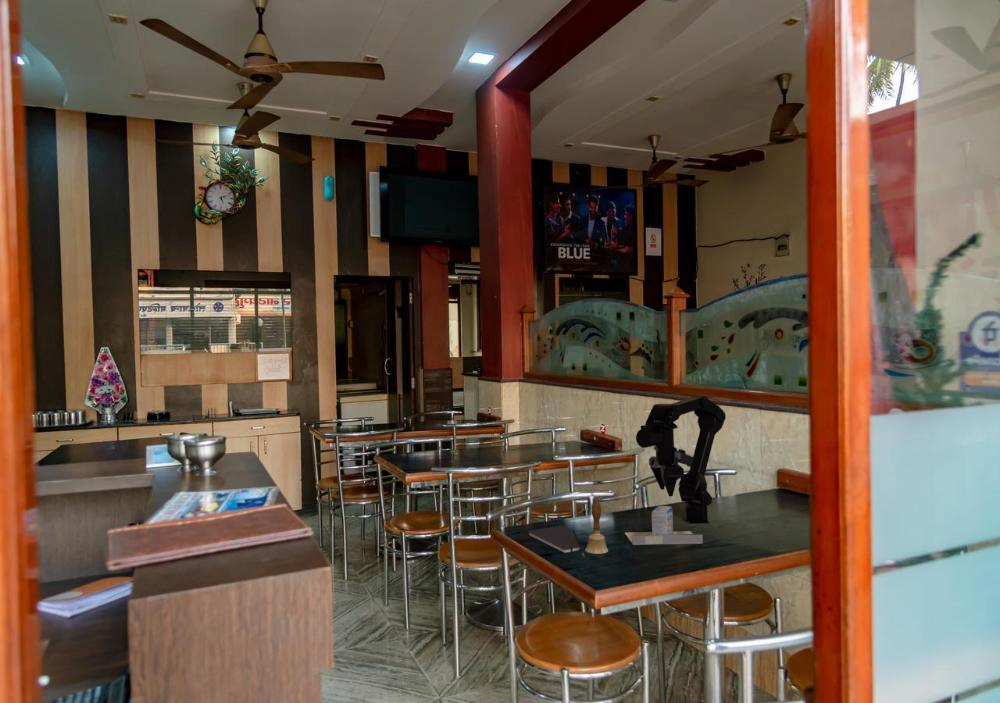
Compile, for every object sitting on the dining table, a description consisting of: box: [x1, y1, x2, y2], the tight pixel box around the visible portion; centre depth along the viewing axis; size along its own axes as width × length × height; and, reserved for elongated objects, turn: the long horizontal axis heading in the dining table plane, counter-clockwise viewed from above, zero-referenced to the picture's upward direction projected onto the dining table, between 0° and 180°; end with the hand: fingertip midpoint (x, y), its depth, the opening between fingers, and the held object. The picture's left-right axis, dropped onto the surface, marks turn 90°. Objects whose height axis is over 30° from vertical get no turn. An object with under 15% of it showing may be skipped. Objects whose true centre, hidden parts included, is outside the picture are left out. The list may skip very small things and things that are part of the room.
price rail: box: [631, 533, 704, 546], centre depth 179 cm, size 20×1×2 cm, turn 90°
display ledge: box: [624, 530, 700, 546], centre depth 184 cm, size 20×12×2 cm, turn 90°
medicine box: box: [651, 505, 674, 535], centre depth 184 cm, size 8×4×9 cm, turn 152°
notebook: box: [528, 525, 583, 553], centre depth 189 cm, size 13×2×21 cm
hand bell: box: [581, 497, 609, 558], centre depth 175 cm, size 8×8×16 cm
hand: (666, 492), depth 198 cm, fingers open, 9 cm apart
